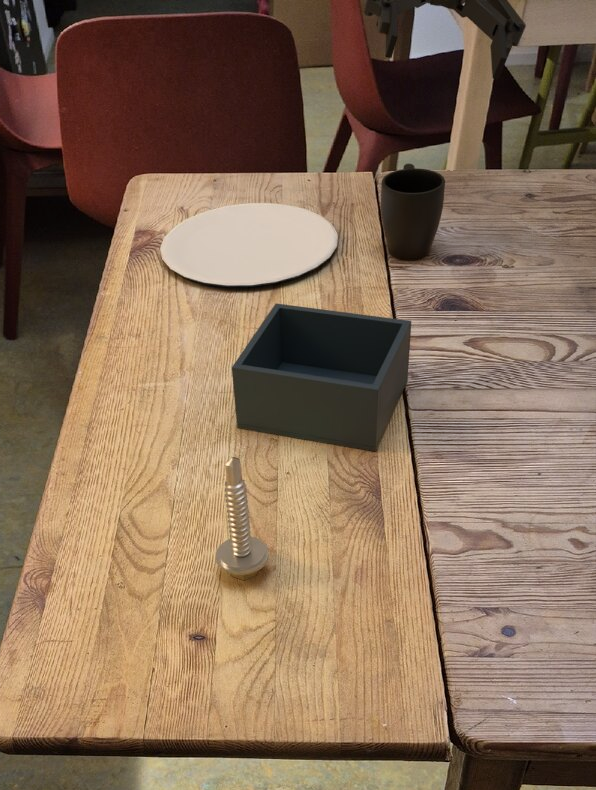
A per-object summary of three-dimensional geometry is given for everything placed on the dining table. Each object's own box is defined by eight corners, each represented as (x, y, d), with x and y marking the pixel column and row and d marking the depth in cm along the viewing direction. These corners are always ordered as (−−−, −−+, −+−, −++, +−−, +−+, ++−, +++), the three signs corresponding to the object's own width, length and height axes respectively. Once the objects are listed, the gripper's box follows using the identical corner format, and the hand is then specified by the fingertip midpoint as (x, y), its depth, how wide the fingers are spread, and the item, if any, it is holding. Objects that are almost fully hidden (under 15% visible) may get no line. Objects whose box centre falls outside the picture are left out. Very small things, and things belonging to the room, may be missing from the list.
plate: (329, 204, 139) (329, 195, 138) (347, 285, 121) (347, 276, 120) (163, 216, 139) (162, 208, 138) (157, 299, 122) (156, 290, 121)
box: (278, 362, 110) (275, 303, 104) (407, 381, 105) (411, 320, 100) (237, 428, 101) (231, 367, 96) (375, 451, 97) (378, 389, 91)
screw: (217, 590, 84) (218, 553, 87) (270, 587, 84) (269, 551, 87) (202, 477, 75) (204, 441, 78) (262, 474, 74) (261, 438, 78)
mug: (436, 224, 132) (442, 155, 125) (441, 264, 124) (447, 193, 117) (378, 226, 133) (380, 157, 126) (379, 265, 124) (381, 194, 118)
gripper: (521, 4, 126) (531, 105, 117) (343, -33, 124) (338, 67, 114) (545, -54, 120) (557, 48, 110) (357, -95, 117) (353, 6, 108)
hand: (446, 58), depth 112 cm, fingers open, 13 cm apart
